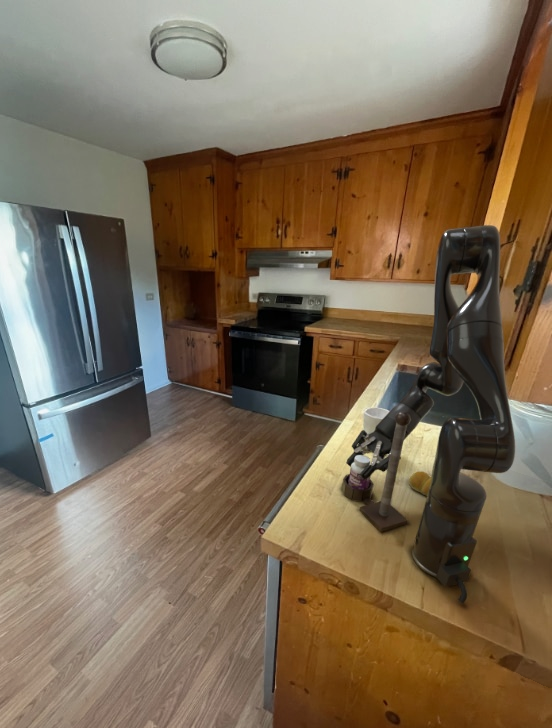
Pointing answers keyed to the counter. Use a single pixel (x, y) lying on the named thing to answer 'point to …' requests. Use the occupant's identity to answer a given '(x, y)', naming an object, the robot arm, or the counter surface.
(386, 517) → the towel stand
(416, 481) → the bread roll
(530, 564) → the counter surface
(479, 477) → the counter surface
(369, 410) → the foam cup
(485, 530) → the counter surface
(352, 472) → the pill bottle
